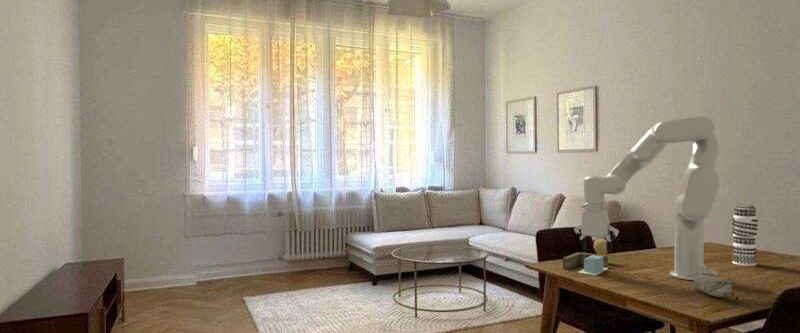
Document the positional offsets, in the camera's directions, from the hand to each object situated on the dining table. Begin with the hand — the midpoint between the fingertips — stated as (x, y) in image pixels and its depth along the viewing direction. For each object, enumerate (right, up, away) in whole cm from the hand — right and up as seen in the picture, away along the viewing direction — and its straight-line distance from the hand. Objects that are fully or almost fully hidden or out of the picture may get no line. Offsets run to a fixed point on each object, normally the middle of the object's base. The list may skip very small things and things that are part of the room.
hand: (596, 250), depth 202 cm
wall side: (+2, -8, +11) cm, 14 cm away
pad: (-1, -8, 0) cm, 8 cm away
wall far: (-6, -8, +9) cm, 14 cm away
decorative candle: (+67, -8, +13) cm, 69 cm away
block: (-1, -8, 0) cm, 8 cm away
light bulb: (+8, -8, +16) cm, 20 cm away
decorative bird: (+24, -10, -36) cm, 45 cm away
